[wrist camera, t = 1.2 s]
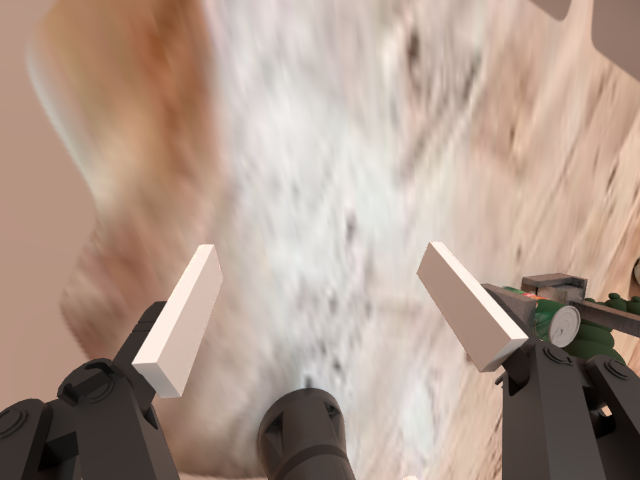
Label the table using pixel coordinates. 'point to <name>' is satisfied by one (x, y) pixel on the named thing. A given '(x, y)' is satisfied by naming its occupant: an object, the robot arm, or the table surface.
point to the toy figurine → (600, 331)
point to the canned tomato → (553, 320)
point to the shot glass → (410, 478)
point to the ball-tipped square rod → (592, 309)
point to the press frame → (527, 305)
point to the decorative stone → (637, 272)
